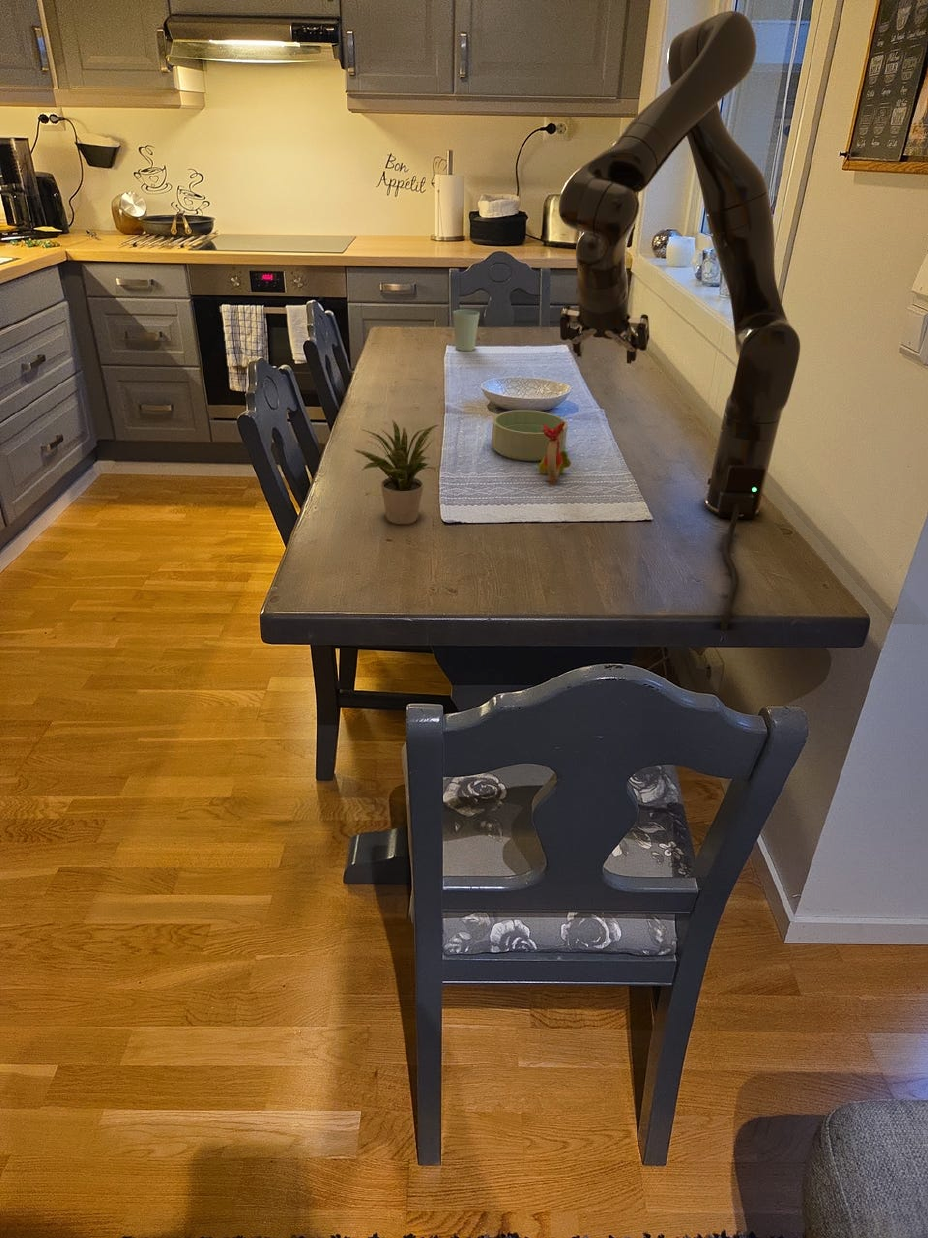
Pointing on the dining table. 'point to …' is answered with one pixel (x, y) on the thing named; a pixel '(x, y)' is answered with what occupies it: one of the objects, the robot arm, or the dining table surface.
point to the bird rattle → (554, 454)
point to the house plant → (401, 475)
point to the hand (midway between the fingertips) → (605, 355)
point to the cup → (465, 329)
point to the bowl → (525, 434)
